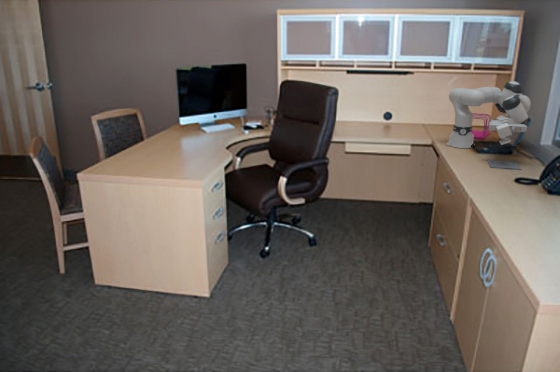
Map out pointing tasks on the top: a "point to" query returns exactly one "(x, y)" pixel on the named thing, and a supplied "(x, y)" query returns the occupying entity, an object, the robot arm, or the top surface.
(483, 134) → the file sorter
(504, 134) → the security camera
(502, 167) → the desk pad
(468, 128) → the robot arm
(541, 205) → the top surface
